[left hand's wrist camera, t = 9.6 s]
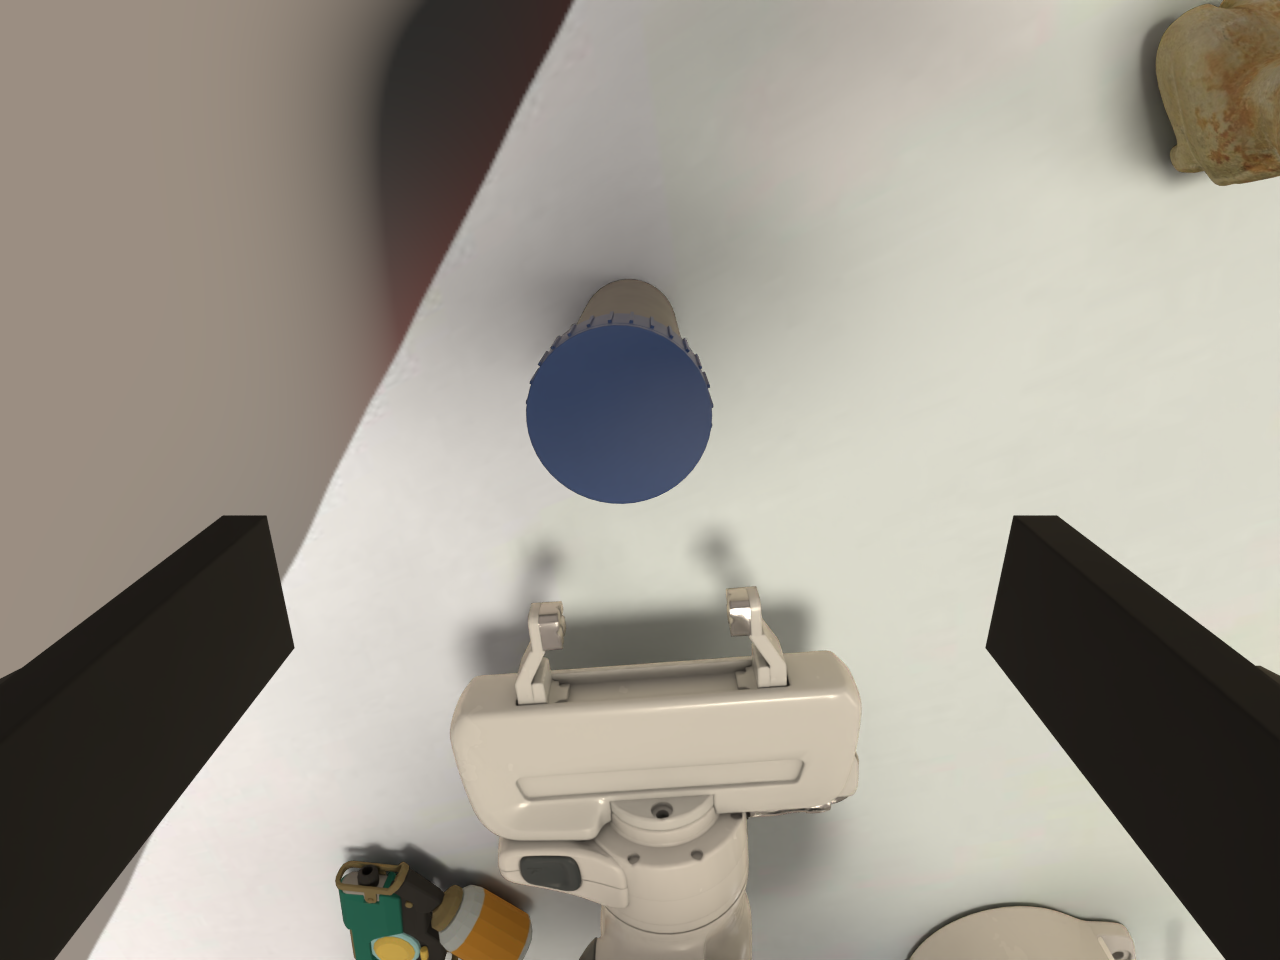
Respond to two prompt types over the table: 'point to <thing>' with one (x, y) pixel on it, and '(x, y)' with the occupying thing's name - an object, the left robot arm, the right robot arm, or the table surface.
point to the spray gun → (426, 917)
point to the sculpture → (1224, 90)
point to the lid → (619, 409)
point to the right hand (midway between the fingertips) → (643, 600)
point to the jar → (631, 302)
